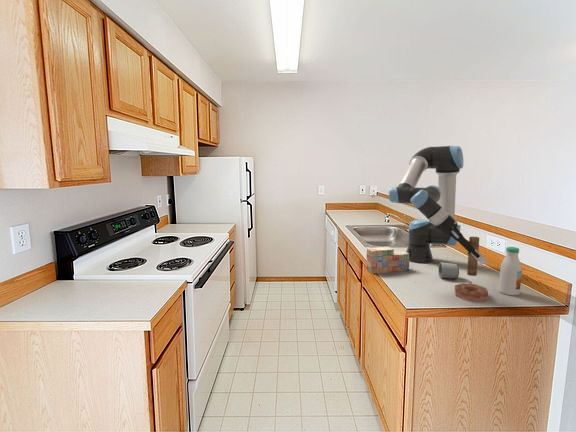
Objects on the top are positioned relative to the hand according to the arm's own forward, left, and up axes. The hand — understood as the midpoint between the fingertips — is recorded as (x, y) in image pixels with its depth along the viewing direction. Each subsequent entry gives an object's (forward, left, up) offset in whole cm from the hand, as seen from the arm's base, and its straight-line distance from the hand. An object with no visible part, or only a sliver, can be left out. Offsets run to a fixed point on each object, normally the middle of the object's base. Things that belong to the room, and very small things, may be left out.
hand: (483, 261), depth 142 cm
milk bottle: (-8, +12, -16) cm, 22 cm away
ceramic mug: (-23, -11, -16) cm, 30 cm away
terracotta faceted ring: (0, -4, -16) cm, 16 cm away
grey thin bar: (-11, -2, -16) cm, 19 cm away
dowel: (0, -4, -6) cm, 7 cm away
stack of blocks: (-26, -40, -16) cm, 50 cm away
